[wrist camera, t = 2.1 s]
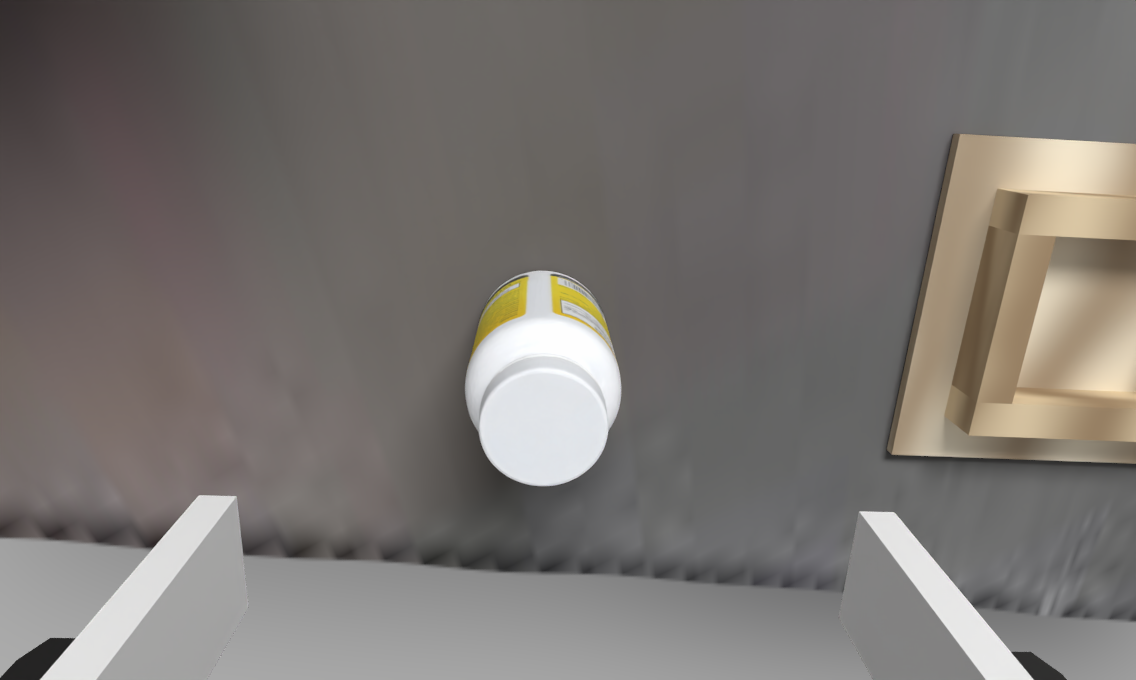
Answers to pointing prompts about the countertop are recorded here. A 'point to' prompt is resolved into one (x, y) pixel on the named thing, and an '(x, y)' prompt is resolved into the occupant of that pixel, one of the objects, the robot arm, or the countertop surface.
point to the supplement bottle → (542, 379)
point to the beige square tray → (1026, 307)
